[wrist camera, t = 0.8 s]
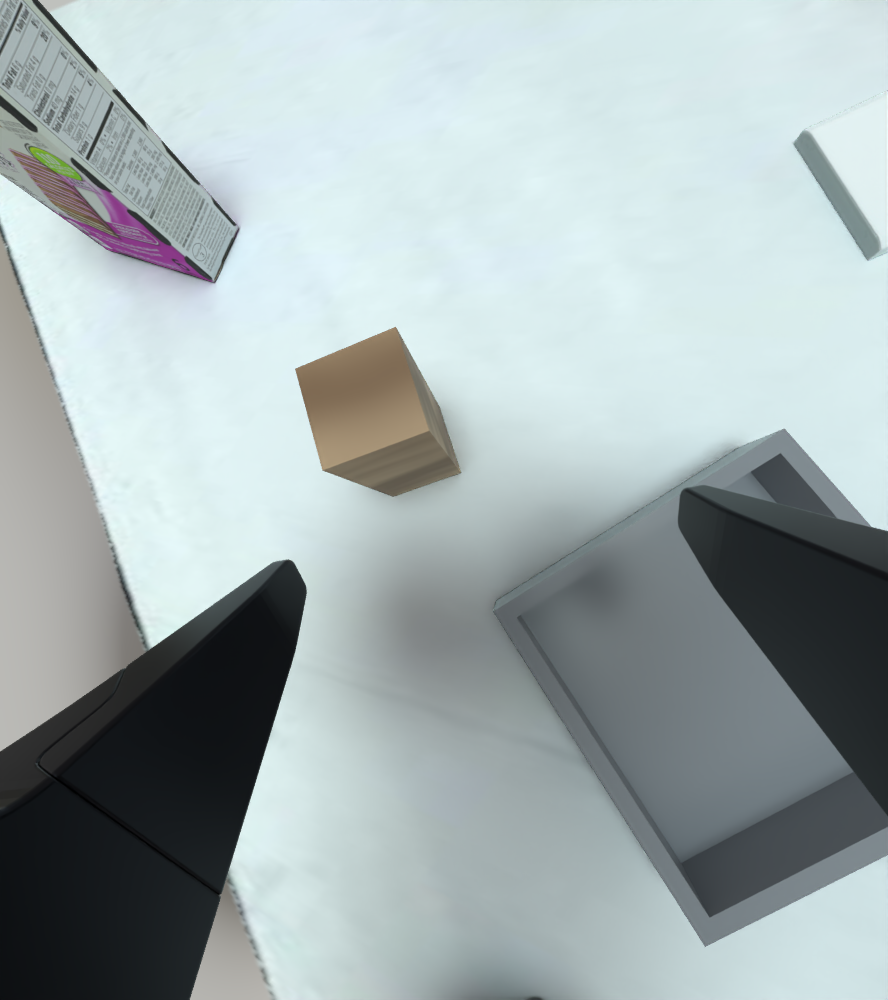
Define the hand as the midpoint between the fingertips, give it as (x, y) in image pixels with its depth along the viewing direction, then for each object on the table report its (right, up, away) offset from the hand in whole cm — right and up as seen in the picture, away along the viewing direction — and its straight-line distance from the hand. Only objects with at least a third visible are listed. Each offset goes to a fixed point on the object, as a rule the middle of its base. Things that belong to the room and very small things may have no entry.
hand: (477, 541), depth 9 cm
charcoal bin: (+13, -7, +11) cm, 18 cm away
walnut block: (-3, +4, +15) cm, 16 cm away
